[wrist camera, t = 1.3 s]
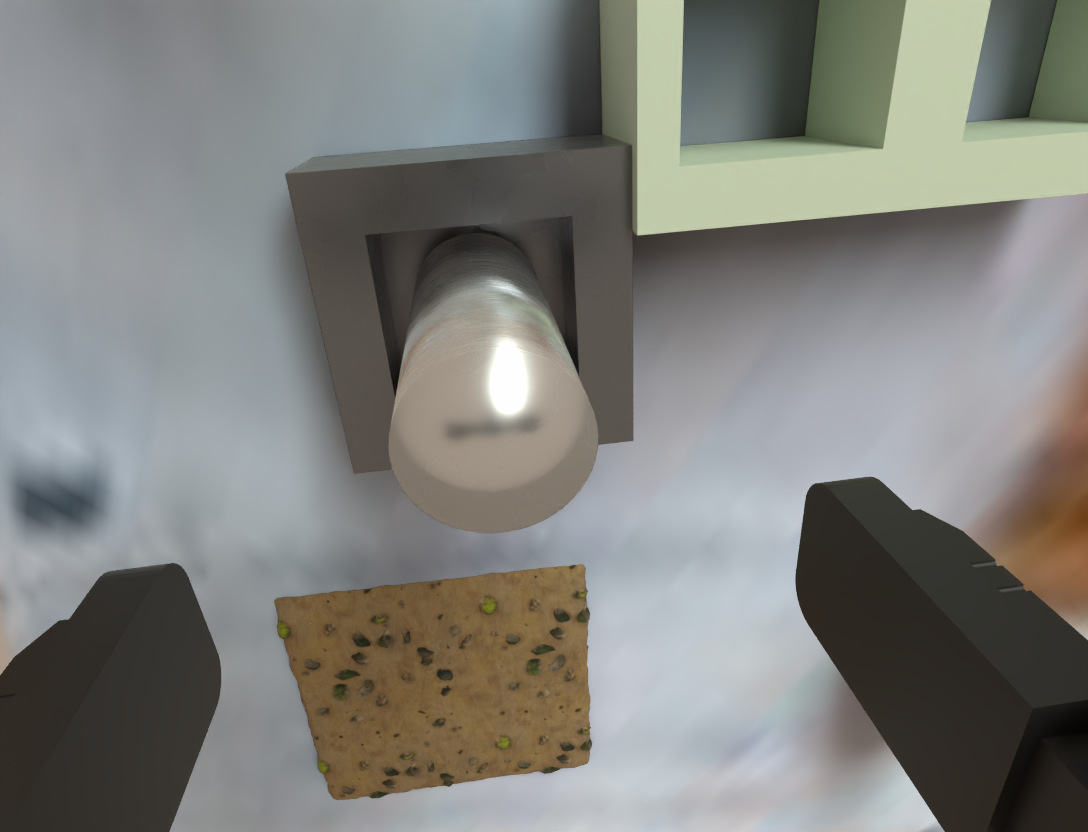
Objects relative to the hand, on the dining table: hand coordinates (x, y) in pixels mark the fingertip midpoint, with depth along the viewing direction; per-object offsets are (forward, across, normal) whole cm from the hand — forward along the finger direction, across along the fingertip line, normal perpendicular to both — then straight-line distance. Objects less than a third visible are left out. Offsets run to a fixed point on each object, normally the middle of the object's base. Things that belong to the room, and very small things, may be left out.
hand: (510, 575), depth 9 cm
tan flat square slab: (+14, +3, +17) cm, 22 cm away
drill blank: (+12, 0, 0) cm, 12 cm away
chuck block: (+13, 0, 0) cm, 13 cm away
